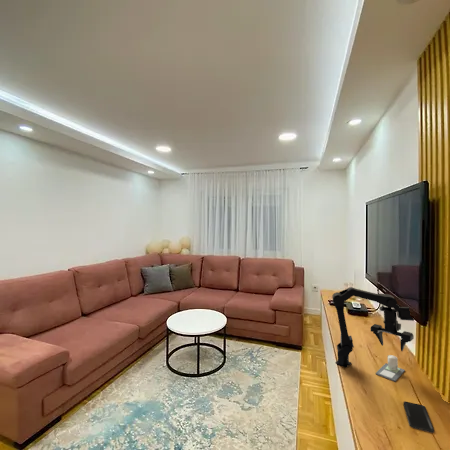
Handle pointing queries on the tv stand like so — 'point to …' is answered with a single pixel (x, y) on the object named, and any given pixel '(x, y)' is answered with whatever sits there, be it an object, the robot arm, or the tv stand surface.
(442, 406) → the tv stand surface
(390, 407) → the tv stand surface
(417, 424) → the phone
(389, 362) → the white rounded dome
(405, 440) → the tv stand surface
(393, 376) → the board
